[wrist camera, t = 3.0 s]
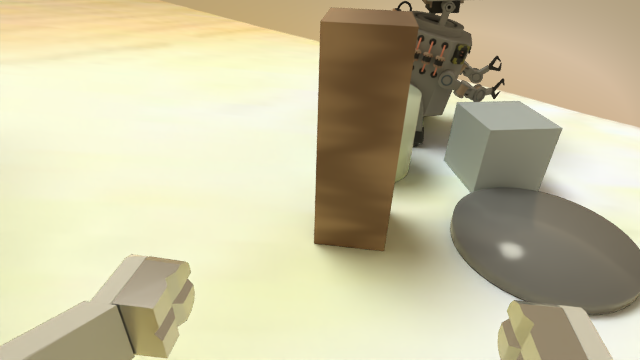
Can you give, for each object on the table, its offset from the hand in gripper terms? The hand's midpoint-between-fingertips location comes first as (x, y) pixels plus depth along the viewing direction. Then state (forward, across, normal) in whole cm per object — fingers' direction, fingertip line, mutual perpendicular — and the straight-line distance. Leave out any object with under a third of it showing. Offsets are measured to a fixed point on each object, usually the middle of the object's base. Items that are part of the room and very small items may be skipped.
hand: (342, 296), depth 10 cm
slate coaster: (+12, -11, +7) cm, 18 cm away
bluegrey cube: (+20, -10, +7) cm, 23 cm away
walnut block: (+12, 0, +7) cm, 14 cm away
